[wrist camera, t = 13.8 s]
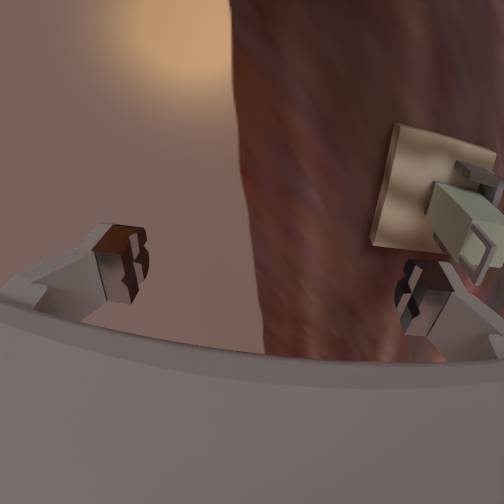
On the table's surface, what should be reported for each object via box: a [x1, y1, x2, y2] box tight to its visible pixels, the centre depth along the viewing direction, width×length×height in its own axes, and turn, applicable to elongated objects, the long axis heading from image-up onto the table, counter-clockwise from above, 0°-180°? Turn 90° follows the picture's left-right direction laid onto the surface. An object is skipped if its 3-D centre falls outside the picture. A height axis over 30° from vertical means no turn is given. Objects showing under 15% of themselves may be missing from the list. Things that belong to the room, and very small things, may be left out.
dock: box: [369, 122, 504, 255], centre depth 35 cm, size 16×15×6 cm
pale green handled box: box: [424, 181, 504, 286], centre depth 29 cm, size 5×7×15 cm
